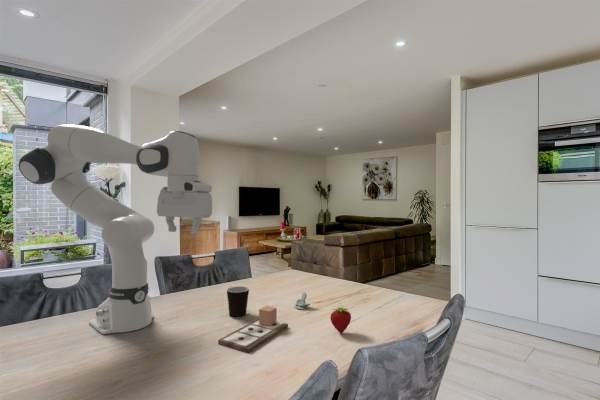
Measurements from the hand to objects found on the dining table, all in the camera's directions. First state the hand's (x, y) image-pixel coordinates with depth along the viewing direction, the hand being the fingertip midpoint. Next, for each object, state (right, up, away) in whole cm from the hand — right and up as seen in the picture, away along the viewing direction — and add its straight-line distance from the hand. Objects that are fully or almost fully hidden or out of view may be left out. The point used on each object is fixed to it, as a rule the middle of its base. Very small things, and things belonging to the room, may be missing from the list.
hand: (183, 232), depth 93 cm
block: (+23, -34, +18) cm, 45 cm away
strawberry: (+49, -36, +13) cm, 62 cm away
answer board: (+20, -35, +11) cm, 42 cm away
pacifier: (+36, -36, +40) cm, 64 cm away
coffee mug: (+11, -36, +31) cm, 49 cm away
